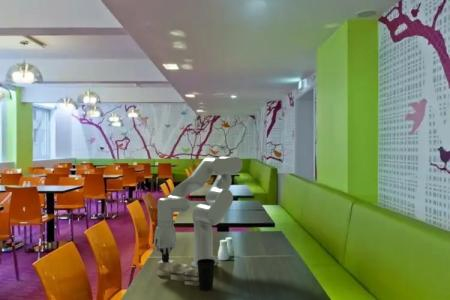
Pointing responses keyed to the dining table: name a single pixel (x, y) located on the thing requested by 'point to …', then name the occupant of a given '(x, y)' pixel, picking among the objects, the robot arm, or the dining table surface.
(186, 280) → the banded block two
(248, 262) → the dining table surface
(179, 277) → the banded block one
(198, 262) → the cup
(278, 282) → the dining table surface
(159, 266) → the plain block
